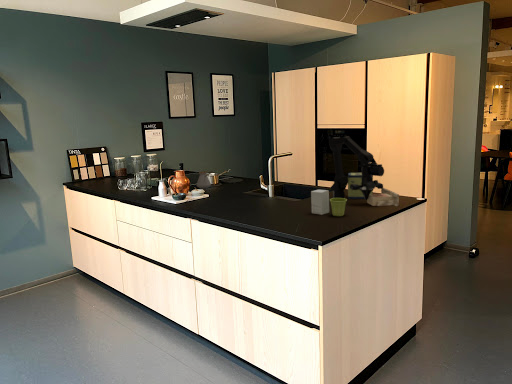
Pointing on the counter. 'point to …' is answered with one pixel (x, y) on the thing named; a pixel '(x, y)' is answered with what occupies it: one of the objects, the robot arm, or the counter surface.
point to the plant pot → (338, 206)
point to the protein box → (355, 179)
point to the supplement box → (320, 201)
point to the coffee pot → (203, 180)
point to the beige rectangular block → (378, 198)
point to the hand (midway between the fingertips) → (366, 200)
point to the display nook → (394, 201)
